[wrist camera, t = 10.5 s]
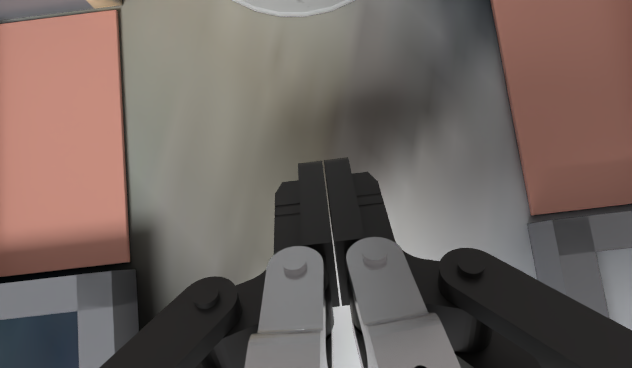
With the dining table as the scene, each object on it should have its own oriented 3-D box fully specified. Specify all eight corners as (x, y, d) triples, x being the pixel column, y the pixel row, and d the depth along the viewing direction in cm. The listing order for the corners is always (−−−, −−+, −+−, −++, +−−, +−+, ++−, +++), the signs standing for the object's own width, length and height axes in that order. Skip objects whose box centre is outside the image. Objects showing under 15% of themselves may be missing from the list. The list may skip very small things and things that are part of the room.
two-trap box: (771, 413, 16) (833, 434, 14) (-52, 502, 17) (-104, 536, 15) (597, -274, 21) (625, -330, 19) (-44, -190, 21) (-82, -236, 19)
